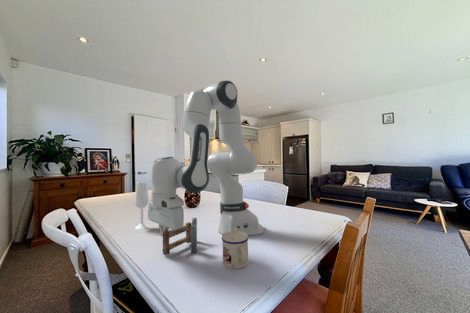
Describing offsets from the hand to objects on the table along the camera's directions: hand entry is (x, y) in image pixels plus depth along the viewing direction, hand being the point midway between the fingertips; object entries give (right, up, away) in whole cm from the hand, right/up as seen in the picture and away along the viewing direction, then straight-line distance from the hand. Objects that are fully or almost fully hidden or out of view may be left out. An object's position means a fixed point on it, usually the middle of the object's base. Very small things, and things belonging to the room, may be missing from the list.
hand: (164, 235), depth 74 cm
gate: (+4, -6, +3) cm, 8 cm away
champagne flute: (-23, -8, +30) cm, 39 cm away
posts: (+10, -7, +6) cm, 13 cm away
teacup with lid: (+28, -6, -9) cm, 30 cm away
